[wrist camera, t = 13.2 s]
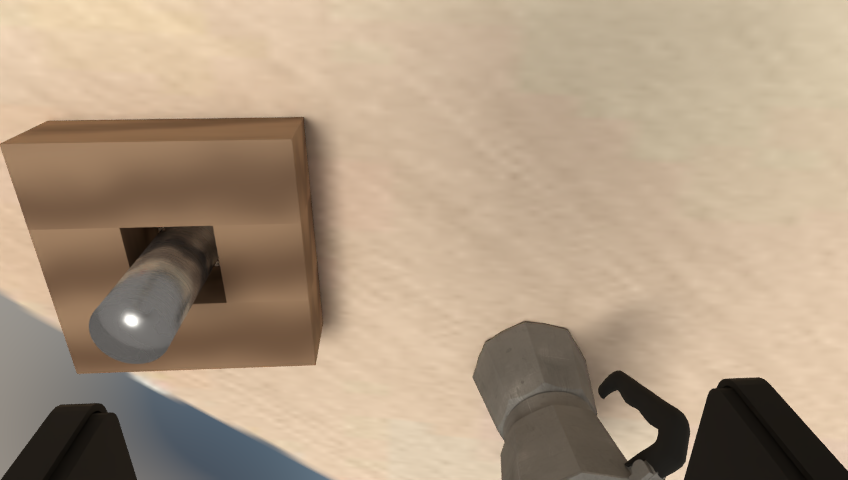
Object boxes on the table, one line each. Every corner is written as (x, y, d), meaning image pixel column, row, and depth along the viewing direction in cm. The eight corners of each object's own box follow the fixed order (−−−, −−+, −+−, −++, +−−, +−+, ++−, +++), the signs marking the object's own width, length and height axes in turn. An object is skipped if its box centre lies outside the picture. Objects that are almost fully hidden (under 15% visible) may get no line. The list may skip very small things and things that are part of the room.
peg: (163, 206, 39) (79, 300, 28) (223, 205, 39) (161, 298, 29) (175, 258, 41) (99, 365, 30) (232, 256, 41) (177, 362, 30)
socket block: (47, 120, 36) (-1, 144, 32) (303, 117, 37) (291, 139, 32) (109, 330, 43) (77, 373, 39) (322, 323, 44) (315, 364, 40)
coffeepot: (518, 439, 51) (580, 664, 35) (434, 393, 48) (457, 615, 32) (644, 319, 46) (784, 517, 30) (558, 259, 43) (661, 442, 27)
